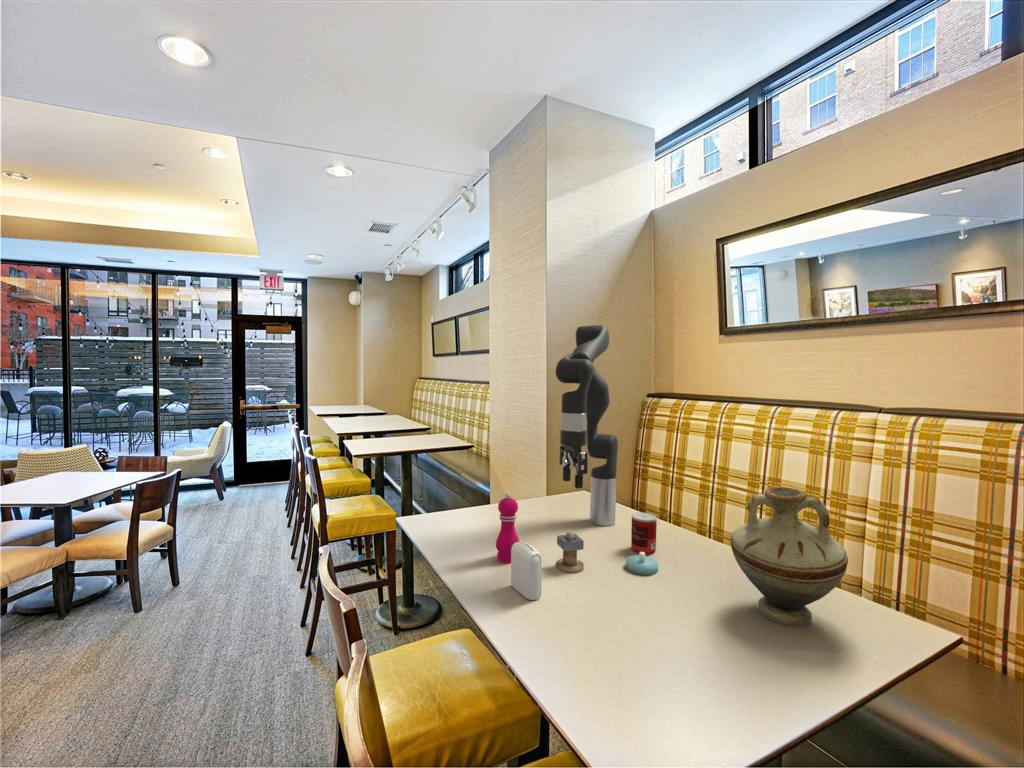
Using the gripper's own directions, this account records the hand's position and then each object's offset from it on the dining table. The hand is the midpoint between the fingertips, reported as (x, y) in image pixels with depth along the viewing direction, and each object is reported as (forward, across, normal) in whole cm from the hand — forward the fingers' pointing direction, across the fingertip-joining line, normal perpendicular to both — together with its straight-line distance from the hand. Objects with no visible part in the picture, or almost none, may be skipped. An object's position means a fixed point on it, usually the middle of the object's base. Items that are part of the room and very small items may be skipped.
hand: (572, 484), depth 133 cm
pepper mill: (+24, -10, -16) cm, 31 cm away
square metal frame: (+18, 0, 0) cm, 18 cm away
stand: (+24, 0, 0) cm, 24 cm away
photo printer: (+24, +10, -17) cm, 32 cm away
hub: (+24, +6, +20) cm, 32 cm away
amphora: (+24, +37, +38) cm, 59 cm away
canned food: (+24, -6, +28) cm, 37 cm away
